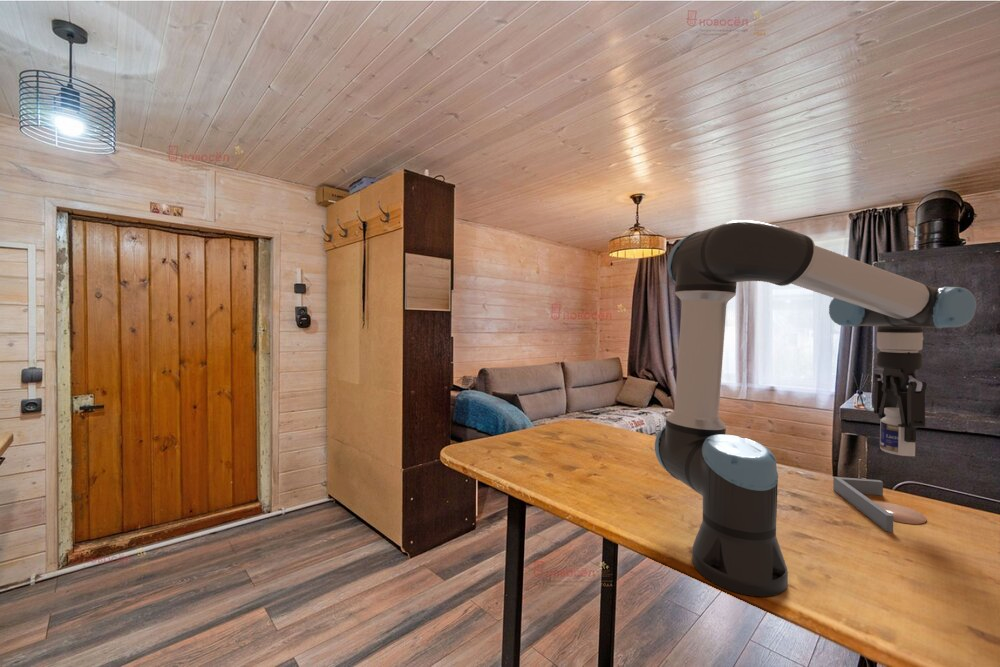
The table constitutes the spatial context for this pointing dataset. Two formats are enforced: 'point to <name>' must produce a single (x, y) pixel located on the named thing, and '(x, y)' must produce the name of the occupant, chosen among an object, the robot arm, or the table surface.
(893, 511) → the pad
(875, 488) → the low walls
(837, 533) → the table surface
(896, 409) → the pill bottle
